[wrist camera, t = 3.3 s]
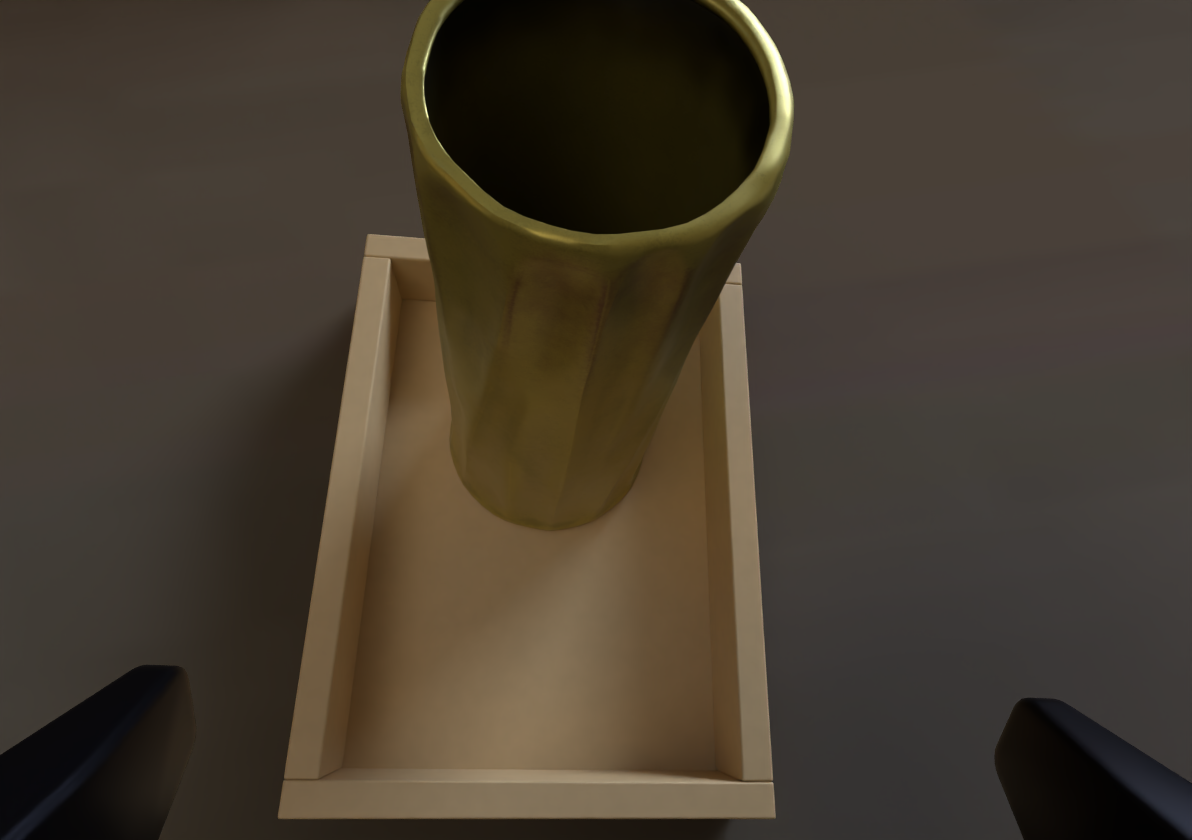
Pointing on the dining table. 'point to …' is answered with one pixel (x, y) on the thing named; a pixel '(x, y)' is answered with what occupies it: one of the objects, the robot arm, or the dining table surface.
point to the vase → (582, 223)
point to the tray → (529, 605)
